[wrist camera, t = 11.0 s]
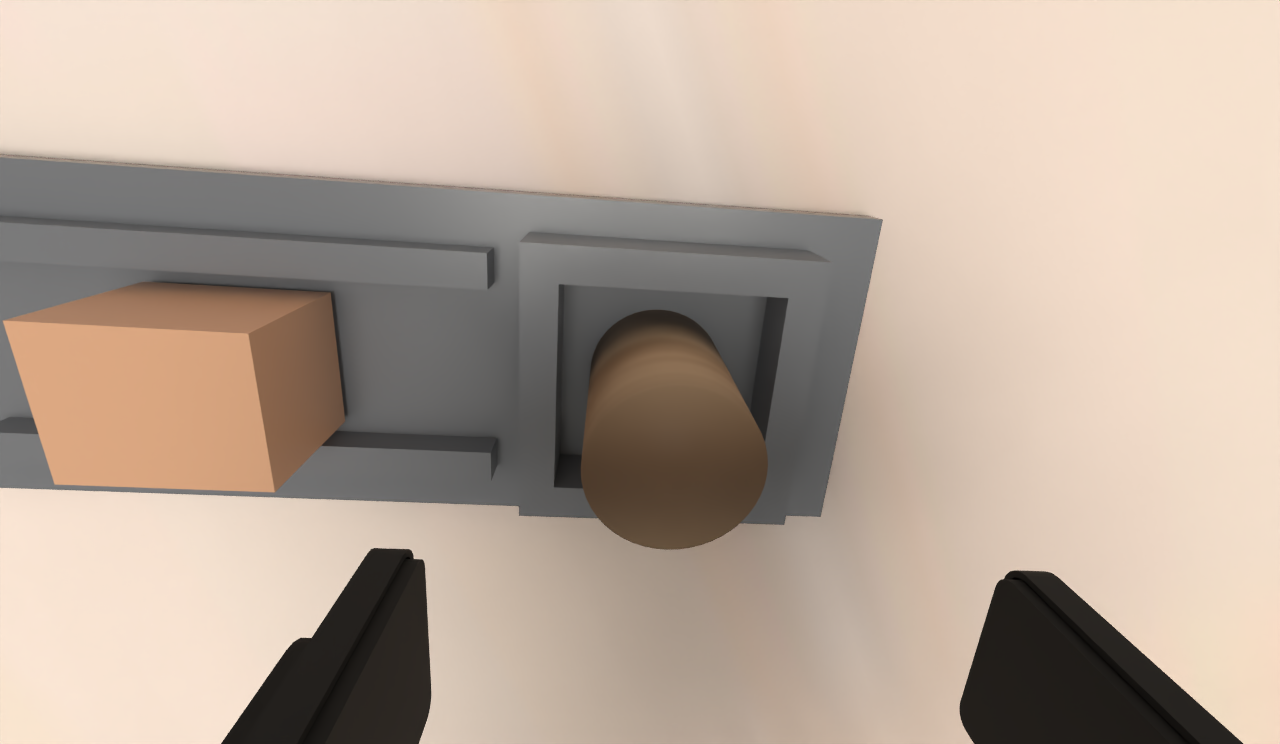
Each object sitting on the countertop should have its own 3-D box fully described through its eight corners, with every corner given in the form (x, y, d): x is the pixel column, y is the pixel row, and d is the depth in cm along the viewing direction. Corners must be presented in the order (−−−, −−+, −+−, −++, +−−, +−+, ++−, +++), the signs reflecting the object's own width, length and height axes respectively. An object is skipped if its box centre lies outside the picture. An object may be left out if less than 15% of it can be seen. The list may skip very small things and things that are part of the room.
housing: (811, 500, 21) (841, 553, 18) (-20, 469, 19) (-127, 523, 17) (868, 215, 18) (916, 228, 15) (-138, 144, 16) (-299, 143, 13)
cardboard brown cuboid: (345, 421, 18) (274, 492, 14) (173, 413, 18) (54, 484, 14) (330, 292, 17) (248, 333, 13) (143, 281, 16) (3, 320, 12)
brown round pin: (711, 433, 19) (753, 552, 13) (587, 427, 19) (577, 546, 13) (727, 313, 18) (781, 389, 12) (593, 305, 17) (584, 379, 12)
